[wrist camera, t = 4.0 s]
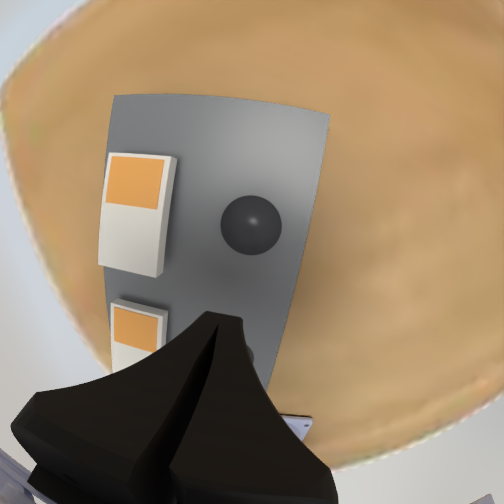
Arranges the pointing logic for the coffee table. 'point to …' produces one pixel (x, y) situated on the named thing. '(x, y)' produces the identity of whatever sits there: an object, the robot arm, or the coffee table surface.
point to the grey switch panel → (225, 209)
